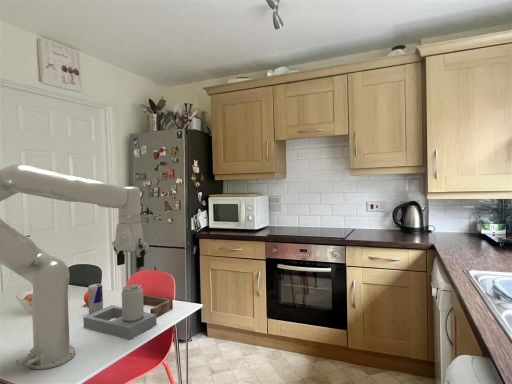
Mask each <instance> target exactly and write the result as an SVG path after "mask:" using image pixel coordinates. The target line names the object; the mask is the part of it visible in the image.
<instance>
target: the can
mask: <svg viewBox="0 0 512 384" xmlns="http://www.w3.org/2000/svg"><path fill="white" fill-rule="evenodd" d="M143 295H144V289H143V288H142V285H141V284H136V283H135V284H128V285H126V286H124V287H123V290H122V291H121V307H122V318H123V319H124V320H125V321H128V322H132V321H137V320H139V319H141V317H142V316H143V315H144V312H145V309H144V308H145V307H144V305H143Z"/></svg>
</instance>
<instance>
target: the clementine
mask: <svg viewBox="0 0 512 384" xmlns="http://www.w3.org/2000/svg"><path fill="white" fill-rule="evenodd" d="M83 301H84V303H85V304H86V305H88V306H89V302H88V290H87V291H86V292H85V294H84V296H83Z"/></svg>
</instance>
